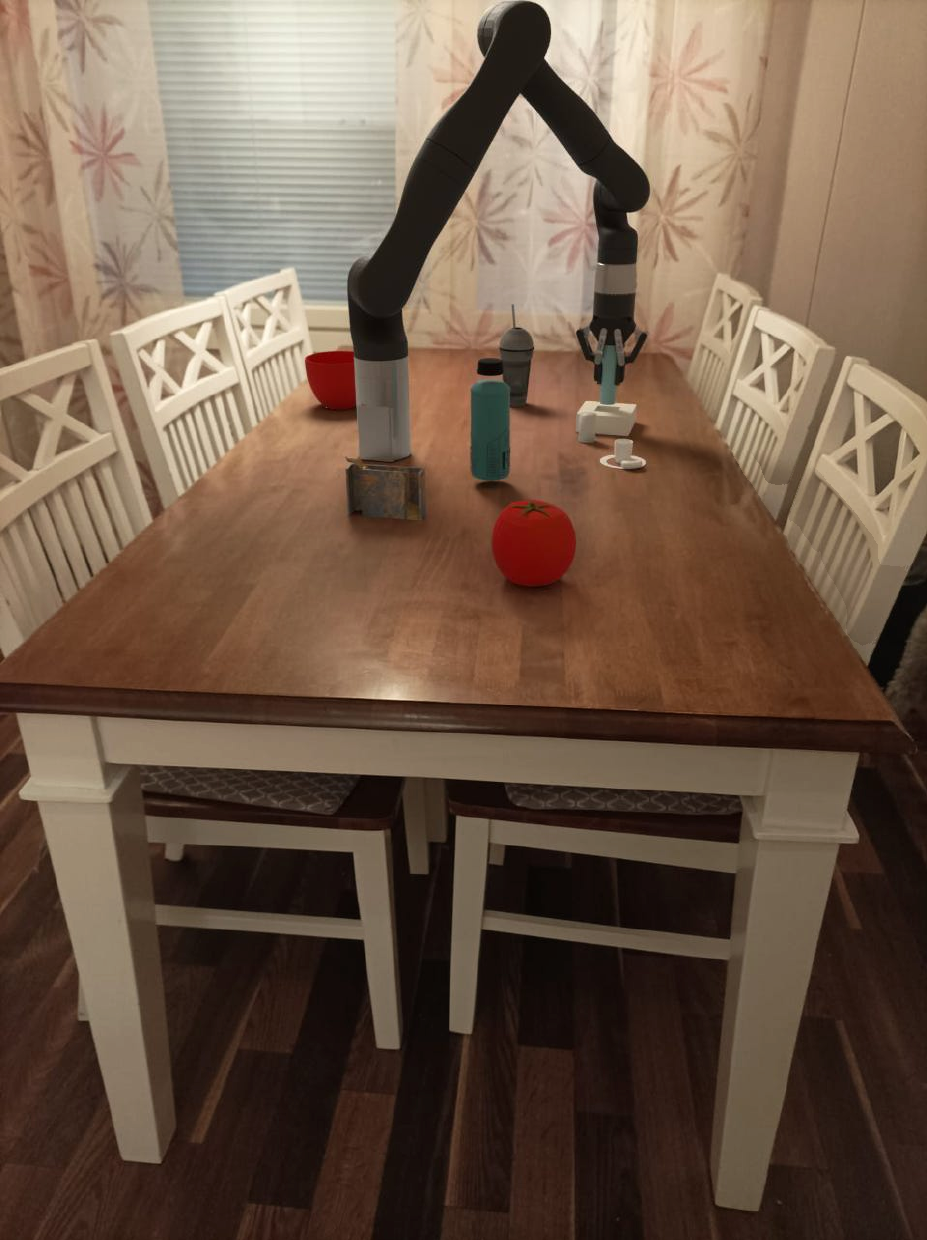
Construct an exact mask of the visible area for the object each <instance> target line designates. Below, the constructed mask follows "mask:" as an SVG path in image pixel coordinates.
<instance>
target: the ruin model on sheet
mask: <svg viewBox="0 0 927 1240" xmlns="http://www.w3.org/2000/svg"><path fill="white" fill-rule="evenodd" d="M345 459H346V462H347V463H349V464H348V465H347V467H345V471H344V472H345V486H346V487H345V488H346V502H347V516H352V514H353V513H354V511H361V513H362V517H371V518H387V519H388V518H389V519H396V520H397V519H399V520H410V521H411V520H412V521H423V519H424V517H425V516H426V477H425V476H426V473H425V467H414V466H398V465H397V466H396V465H381V464H369V463H368V464H366V463H363V459H362V458H360V456H358V457H348V456H345Z"/></svg>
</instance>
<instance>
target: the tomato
mask: <svg viewBox="0 0 927 1240" xmlns="http://www.w3.org/2000/svg"><path fill="white" fill-rule="evenodd" d="M494 523H495V524H494V526H493V527H492V528H493V529H492V534H491V550H492V555H493V559H494V562H495V563H496V566H497V568H498V570H499V572H500V573H501V575H502V576H503V577H505V578H506V579H507V580H508V581H509V582H511V583H513V584H515V585H518V586H521V587H522V586H523V587H540V586H546V585H551V584H553V583H556V582H557V581H558V580H560V579H561V578H562V577H563V576H564V575H565V574H566V572H567V571H568V570H569V568H570V567H571V565H572V564H573V560H574V557H575V554H576V547H577V538H576V531H575V528H574V526H573V522H572V520H571V519H570V517H569V515H568V514H567V513H566V512H565V511H564V510H563V509H561V508H560V507H558V506H556V504H551V503H548V502H545V501H541V500H536V499H535V500H534V499H527V500H520V501H514V502H511V503H510V504H508V505H506V507H504V508H503V509H502V510H501V512H500V514H499V515H498V517H497V519H495V522H494Z"/></svg>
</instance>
